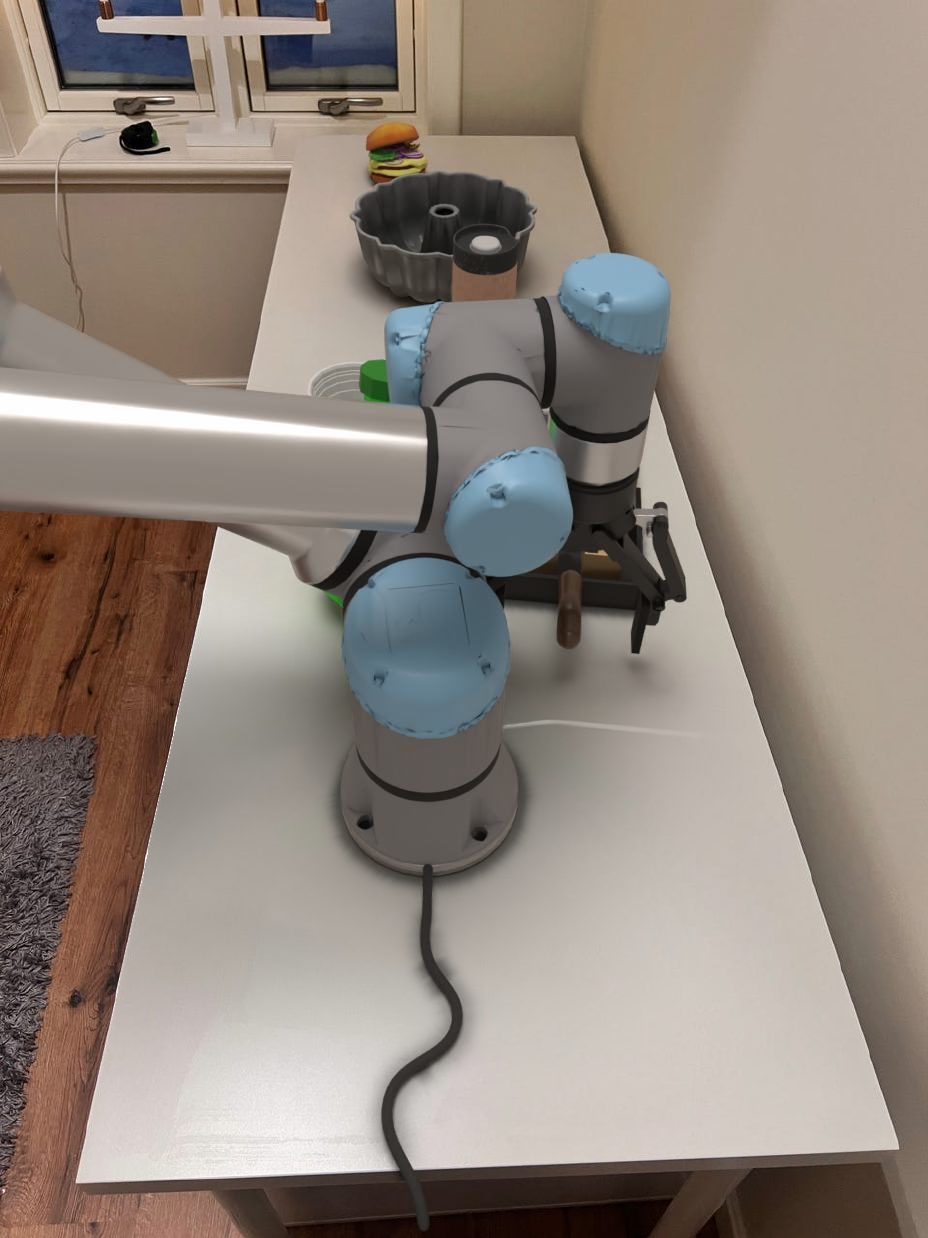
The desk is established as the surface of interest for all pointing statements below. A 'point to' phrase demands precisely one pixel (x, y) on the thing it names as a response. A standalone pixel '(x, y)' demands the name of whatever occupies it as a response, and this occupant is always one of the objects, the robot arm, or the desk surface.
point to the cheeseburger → (394, 152)
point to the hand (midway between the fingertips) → (566, 637)
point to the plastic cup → (337, 382)
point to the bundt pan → (433, 227)
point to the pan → (577, 589)
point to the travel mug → (484, 264)
